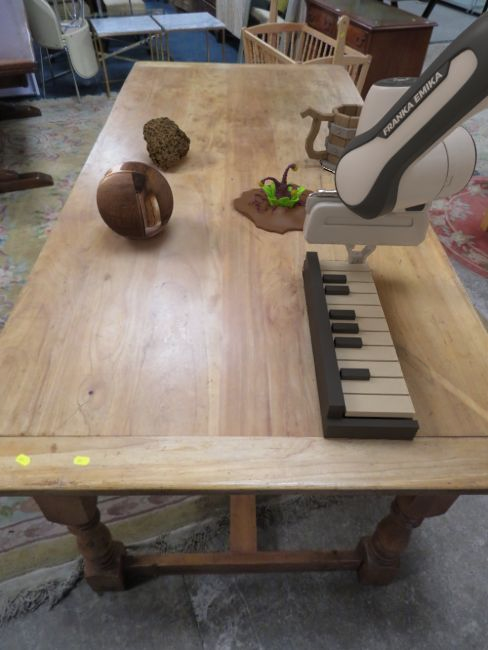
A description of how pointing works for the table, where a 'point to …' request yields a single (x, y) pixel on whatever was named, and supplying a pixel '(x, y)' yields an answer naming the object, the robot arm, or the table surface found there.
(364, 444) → the table surface
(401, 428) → the keyboard
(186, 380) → the table surface
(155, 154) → the brown porous lump
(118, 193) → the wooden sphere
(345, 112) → the tankard
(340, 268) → the low key
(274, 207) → the plant
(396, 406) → the white piano key
